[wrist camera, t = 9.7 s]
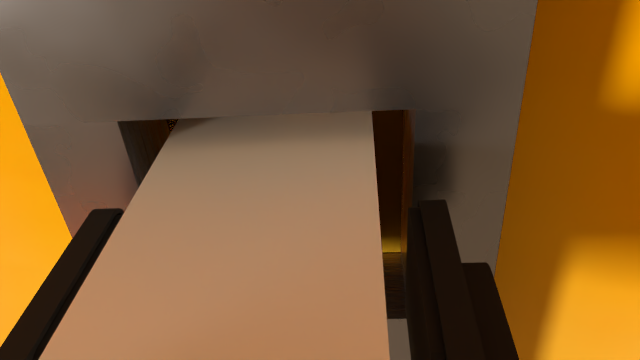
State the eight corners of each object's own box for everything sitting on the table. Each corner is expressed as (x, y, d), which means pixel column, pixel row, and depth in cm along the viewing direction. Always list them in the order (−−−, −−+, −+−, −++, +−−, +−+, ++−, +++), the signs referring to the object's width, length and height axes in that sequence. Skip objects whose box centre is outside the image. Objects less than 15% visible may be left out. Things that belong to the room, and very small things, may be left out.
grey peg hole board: (-60, -307, 9) (-181, -344, 7) (543, -373, 8) (607, -437, 6) (187, 393, 20) (168, 458, 18) (452, 394, 19) (464, 462, 17)
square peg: (189, 100, 13) (29, 376, 7) (369, 88, 13) (390, 370, 6) (224, 237, 16) (132, 539, 9) (375, 232, 15) (395, 542, 9)
